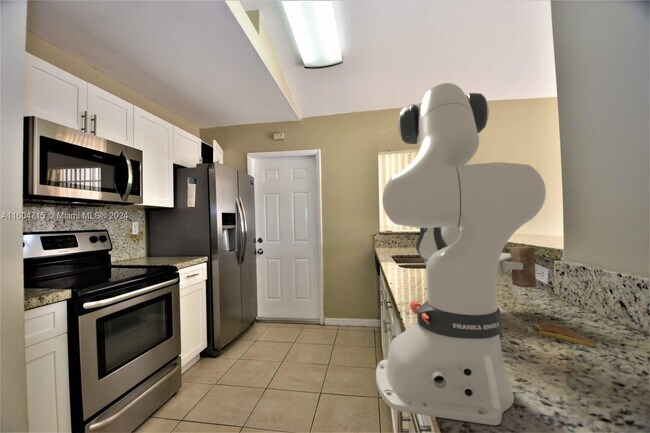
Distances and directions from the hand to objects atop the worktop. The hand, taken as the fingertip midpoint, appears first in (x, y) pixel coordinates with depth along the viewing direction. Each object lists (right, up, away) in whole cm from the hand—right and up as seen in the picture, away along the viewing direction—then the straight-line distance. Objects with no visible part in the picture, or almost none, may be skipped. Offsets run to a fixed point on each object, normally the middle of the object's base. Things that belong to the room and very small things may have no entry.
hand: (526, 264), depth 76 cm
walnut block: (0, -6, 0) cm, 6 cm away
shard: (+1, -16, -11) cm, 19 cm away
